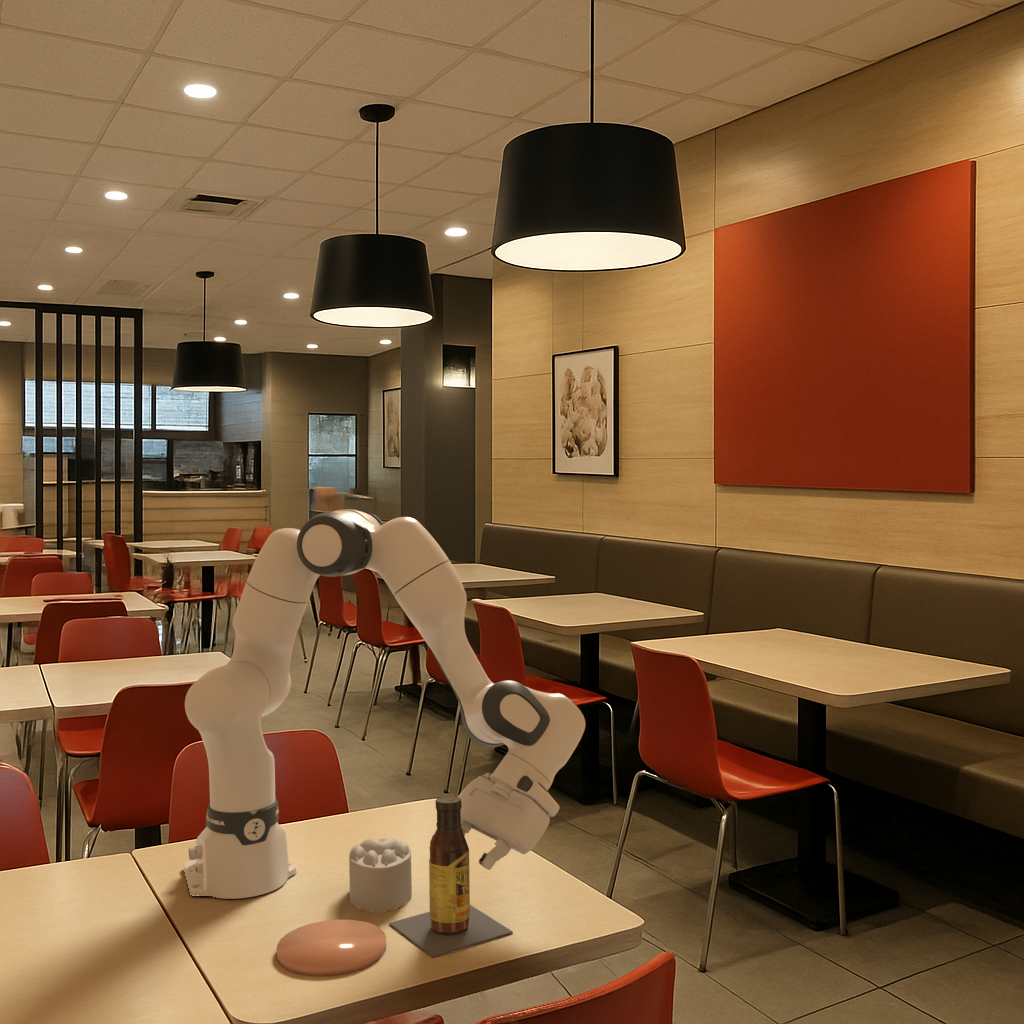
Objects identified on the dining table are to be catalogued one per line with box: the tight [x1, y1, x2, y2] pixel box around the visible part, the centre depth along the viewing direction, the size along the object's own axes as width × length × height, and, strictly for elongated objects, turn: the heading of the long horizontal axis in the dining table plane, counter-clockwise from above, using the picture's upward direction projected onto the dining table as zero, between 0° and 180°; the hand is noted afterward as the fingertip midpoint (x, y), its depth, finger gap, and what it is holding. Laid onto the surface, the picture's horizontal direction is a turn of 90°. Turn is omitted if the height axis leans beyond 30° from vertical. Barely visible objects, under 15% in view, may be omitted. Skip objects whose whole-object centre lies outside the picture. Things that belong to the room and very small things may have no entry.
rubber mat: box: [389, 904, 514, 959], centre depth 156 cm, size 14×14×1 cm
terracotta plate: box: [276, 919, 387, 977], centre depth 149 cm, size 16×16×1 cm
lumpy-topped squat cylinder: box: [348, 837, 413, 913], centre depth 169 cm, size 10×13×9 cm
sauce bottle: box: [428, 795, 471, 934], centre depth 156 cm, size 6×6×20 cm
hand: (467, 857), depth 158 cm, fingers open, 8 cm apart
